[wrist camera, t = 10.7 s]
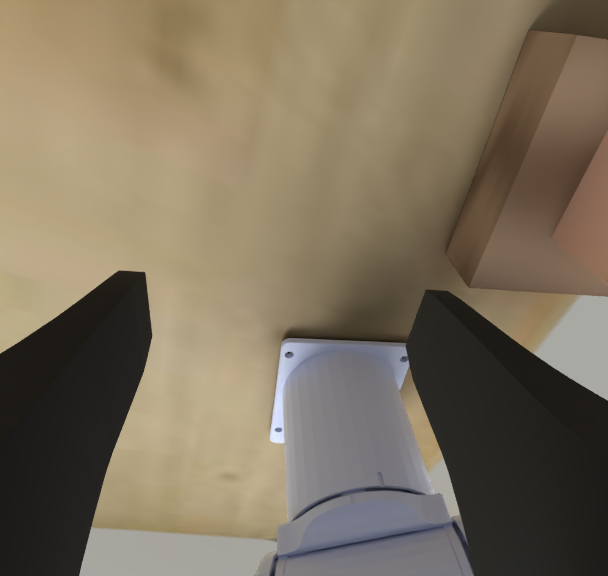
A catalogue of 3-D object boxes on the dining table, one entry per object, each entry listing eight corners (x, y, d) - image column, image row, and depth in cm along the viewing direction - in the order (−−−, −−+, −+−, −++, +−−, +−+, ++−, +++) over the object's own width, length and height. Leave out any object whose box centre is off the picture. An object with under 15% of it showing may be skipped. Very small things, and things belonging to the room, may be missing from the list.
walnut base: (615, 267, 23) (657, 299, 20) (445, 254, 21) (468, 287, 19) (748, 64, 17) (829, 74, 15) (528, 30, 16) (577, 34, 13)
